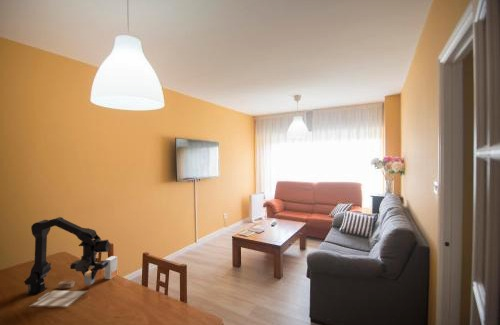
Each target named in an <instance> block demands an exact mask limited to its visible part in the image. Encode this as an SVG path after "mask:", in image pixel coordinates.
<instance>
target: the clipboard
mask: <svg viewBox="0 0 500 325" xmlns="http://www.w3.org/2000/svg"><path fill="white" fill-rule="evenodd" d="M88 291H89V290H71V289H70V290H68V289H67V290H65V289H64V290H63V289H62V290H61V289H53V290H52V291H50V292H47V293H45V294H43V295H42V296H40V297H39V298H37V299H36V301H34V302H33V303H32V304H30V305H28V307H29V308H52V309H53V308H55V309H56V308H58V309H59V308H60V309H61V308H62V309H68V308H69V307H71V305H73V304H74V303H75V302H77V301H78V300H79V299H80V298H81V297H83V296H84V295H85V294H87V293H88Z"/></svg>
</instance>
